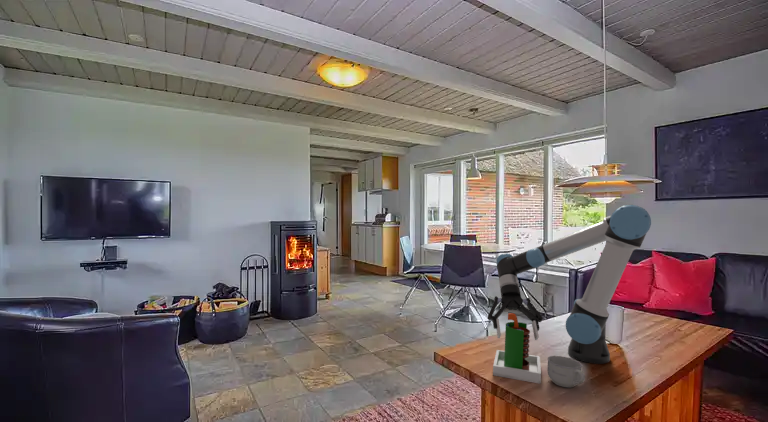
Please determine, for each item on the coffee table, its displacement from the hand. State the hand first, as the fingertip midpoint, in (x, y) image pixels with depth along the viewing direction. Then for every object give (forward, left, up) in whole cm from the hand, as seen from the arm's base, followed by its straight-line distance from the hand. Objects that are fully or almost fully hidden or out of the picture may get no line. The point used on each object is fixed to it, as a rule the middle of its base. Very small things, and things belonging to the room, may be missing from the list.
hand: (517, 337), depth 139 cm
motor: (0, -1, -12) cm, 12 cm away
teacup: (-16, +5, -13) cm, 21 cm away
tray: (0, -1, -13) cm, 13 cm away
